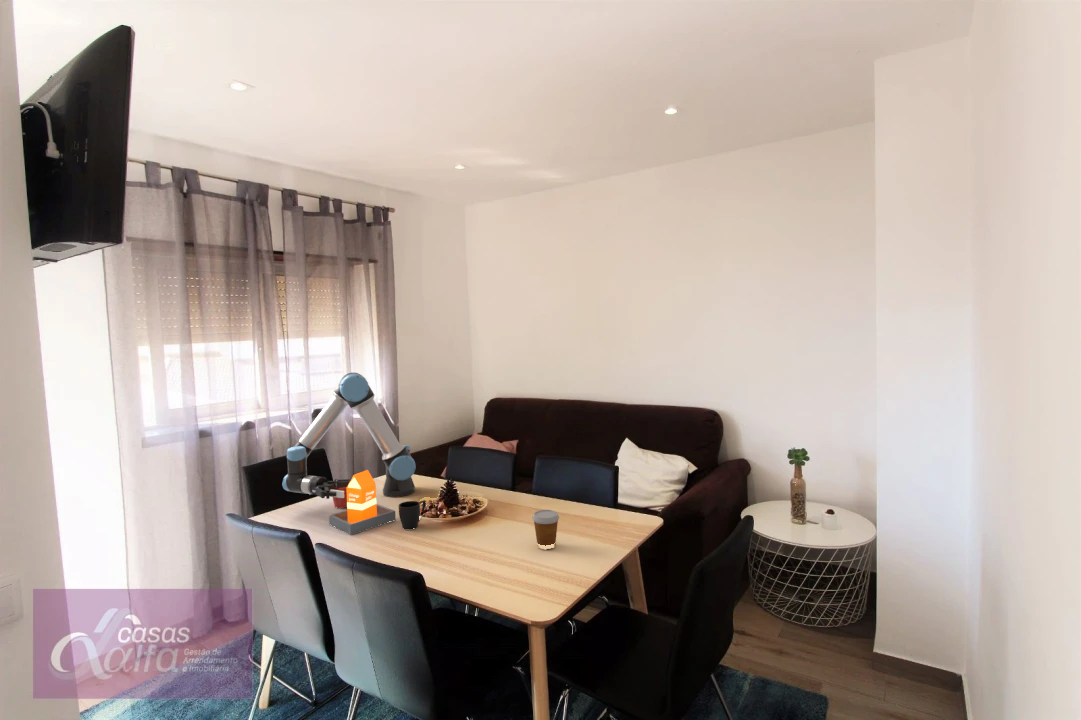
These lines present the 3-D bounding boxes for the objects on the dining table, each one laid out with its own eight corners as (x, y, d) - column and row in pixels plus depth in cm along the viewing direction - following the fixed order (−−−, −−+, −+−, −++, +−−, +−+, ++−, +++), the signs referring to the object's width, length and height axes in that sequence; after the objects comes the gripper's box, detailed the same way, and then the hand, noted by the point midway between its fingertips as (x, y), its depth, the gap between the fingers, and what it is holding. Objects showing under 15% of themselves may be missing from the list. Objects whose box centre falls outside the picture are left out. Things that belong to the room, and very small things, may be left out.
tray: (373, 511, 229) (373, 502, 229) (395, 520, 218) (395, 510, 217) (329, 525, 214) (329, 515, 214) (350, 535, 203) (350, 524, 202)
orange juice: (347, 522, 213) (345, 474, 212) (362, 515, 221) (360, 468, 220) (363, 525, 210) (361, 475, 209) (377, 517, 218) (375, 470, 217)
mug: (432, 523, 213) (431, 500, 212) (408, 533, 203) (407, 508, 203) (419, 519, 218) (418, 497, 217) (395, 528, 209) (394, 504, 208)
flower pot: (347, 500, 246) (346, 480, 245) (361, 504, 239) (360, 483, 239) (326, 506, 237) (325, 485, 237) (340, 511, 231) (339, 489, 230)
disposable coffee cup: (540, 554, 181) (540, 520, 180) (528, 544, 190) (527, 512, 189) (564, 548, 186) (564, 515, 185) (551, 539, 194) (551, 507, 193)
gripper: (336, 485, 235) (375, 490, 228) (292, 503, 212) (333, 508, 204) (336, 469, 235) (374, 472, 227) (291, 484, 212) (332, 489, 204)
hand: (355, 489), depth 216 cm, fingers open, 13 cm apart
